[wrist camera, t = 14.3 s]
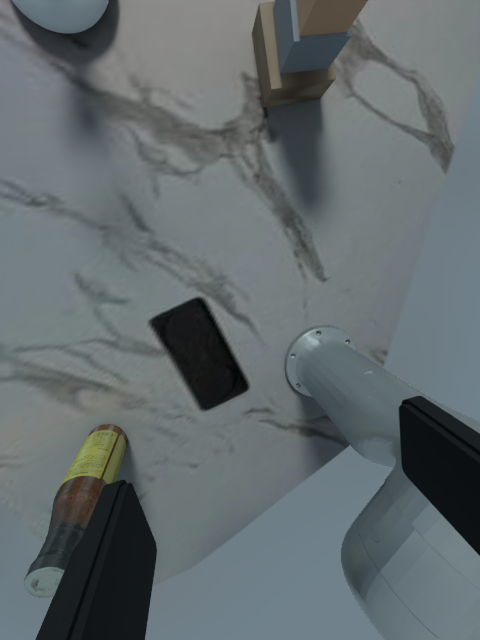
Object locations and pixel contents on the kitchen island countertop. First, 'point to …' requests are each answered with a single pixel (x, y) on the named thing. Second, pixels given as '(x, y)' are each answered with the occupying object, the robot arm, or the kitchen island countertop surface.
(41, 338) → the kitchen island countertop surface
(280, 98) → the light brown wooden plinth
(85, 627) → the robot arm
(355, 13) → the peach rectangular block
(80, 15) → the flower in vase
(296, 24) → the slate-grey cube
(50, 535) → the sauce bottle
